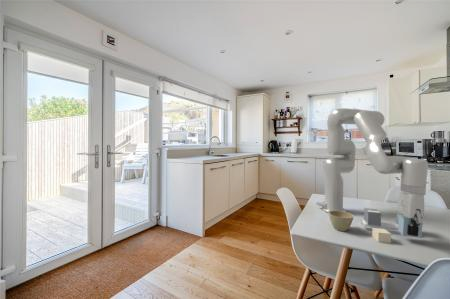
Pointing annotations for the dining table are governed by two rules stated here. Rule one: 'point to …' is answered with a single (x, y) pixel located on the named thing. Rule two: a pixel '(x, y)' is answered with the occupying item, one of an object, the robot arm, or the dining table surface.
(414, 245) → the dining table surface
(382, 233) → the beige cube
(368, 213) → the rail fixture
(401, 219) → the module
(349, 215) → the olive bowl
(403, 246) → the dining table surface
